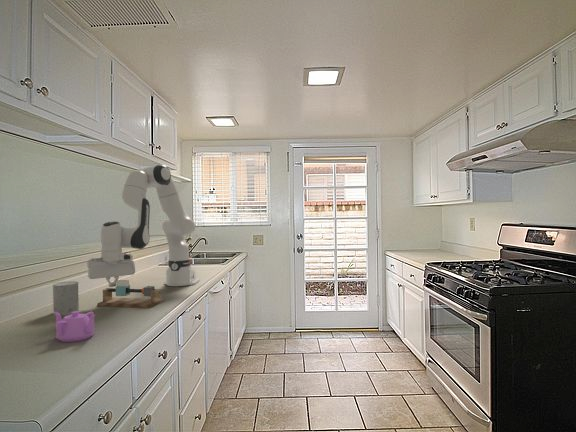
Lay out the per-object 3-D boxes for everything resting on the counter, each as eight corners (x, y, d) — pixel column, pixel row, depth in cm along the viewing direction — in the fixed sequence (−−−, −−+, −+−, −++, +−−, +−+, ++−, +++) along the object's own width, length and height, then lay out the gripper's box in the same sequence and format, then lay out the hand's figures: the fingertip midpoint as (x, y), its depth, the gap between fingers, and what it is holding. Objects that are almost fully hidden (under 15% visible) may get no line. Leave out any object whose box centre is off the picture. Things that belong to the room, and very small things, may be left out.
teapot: (96, 340, 132) (96, 313, 131) (48, 346, 126) (47, 318, 126) (98, 330, 142) (97, 305, 142) (53, 335, 137) (53, 310, 137)
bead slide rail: (103, 294, 183) (103, 286, 183) (109, 293, 187) (108, 285, 187) (153, 296, 179) (153, 287, 179) (158, 294, 183) (157, 286, 183)
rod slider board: (97, 305, 180) (97, 291, 180) (113, 299, 191) (113, 286, 191) (150, 307, 175) (150, 292, 175) (163, 301, 187) (163, 287, 187)
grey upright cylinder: (51, 316, 163) (50, 286, 162) (55, 310, 172) (54, 282, 171) (77, 313, 166) (76, 284, 166) (80, 308, 175) (79, 280, 175)
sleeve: (115, 296, 182) (115, 281, 182) (121, 294, 186) (121, 279, 186) (124, 296, 181) (124, 281, 181) (130, 294, 186) (129, 279, 186)
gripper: (89, 259, 176) (89, 290, 176) (136, 255, 188) (136, 284, 189) (85, 258, 181) (86, 288, 181) (131, 254, 193) (132, 282, 194)
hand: (112, 286), depth 185 cm, fingers closed
